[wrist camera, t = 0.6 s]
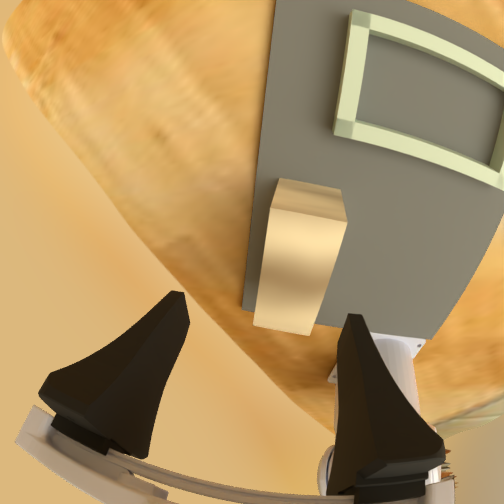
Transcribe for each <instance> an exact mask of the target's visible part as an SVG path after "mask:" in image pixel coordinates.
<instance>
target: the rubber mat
mask: <svg viewBox="0 0 504 504" xmlns="http://www.w3.org/2000/svg"><path fill="white" fill-rule="evenodd" d="M352 9H355V10H359V11H363V12H367V13H371V14H374V15H378V16H381V17H385V18H388V19H391V20H394V21H397V22H400V23H403V24H406V25H409V26H411V27H414V28H417V29H419V30H422V31H424V32H427V33H429V34H432V35H434V36H437V37H439V38H441V39H443V40H446V41H448V42H450V43H452V44H454V45H456V46H458V47H460V48H462V49H464V50H466V51H468V52H470V53H472V54H474V55H476V56H477V57H479V58H481V59H483V60H485V61H486V62H488V63H490V64H491V65H493V66H495V67H496V68H498V69H500V70H501V71H503V72H504V49H503V48H502V47H500V46H498V45H497V44H495V43H494V42H492V41H490V40H489V39H487V38H485V37H484V36H482V35H480V34H479V33H477V32H475V31H473V30H471V29H469V28H468V27H466V26H464V25H462V24H460V23H458V22H456V21H454V20H452V19H450V18H448V17H445V16H443V15H441V14H439V13H436V12H434V11H432V10H429V9H427V8H425V7H422V6H420V5H417V4H414V3H412V2H409V1H406V0H276V8H275V16H274V25H273V33H272V42H271V50H270V59H269V68H268V76H267V85H266V94H265V103H264V111H263V120H262V129H261V138H260V147H259V156H258V165H257V174H256V183H255V192H254V201H253V210H252V219H251V228H250V238H249V247H248V256H247V265H246V275H245V284H244V293H243V303H242V310H245V311H250V312H255V308H256V301H257V295H258V288H259V281H260V275H261V268H262V261H263V254H264V248H265V241H266V234H267V227H268V220H269V213H270V207H271V204H272V200H273V197H274V194H275V191H276V188H277V184H278V181H279V178H284V179H290V180H295V181H301V182H306V183H311V184H316V185H321V186H326V187H331V188H336V189H340V190H341V193H342V198H343V203H344V207H345V212H346V217H347V222H348V223H347V226H346V230H345V233H344V236H343V240H342V243H341V246H340V249H339V253H338V256H337V259H336V262H335V265H334V268H333V271H332V274H331V277H330V280H329V283H328V286H327V289H326V292H325V295H324V298H323V300H322V303H321V306H320V309H319V312H318V314H317V317H316V320H315V322H314V324H320V325H326V326H332V327H339V328H343V327H344V324H345V321H346V318H347V315H348V313H352V314H362V316H363V317H364V320H365V322H366V325H367V327H368V329H369V332H373V333H380V334H388V335H395V336H404V337H412V338H421V339H432V338H433V337H434V335H435V334H436V333H437V331H438V330H439V328H440V327H441V326H442V324H443V323H444V321H445V320H446V318H447V317H448V315H449V314H450V312H451V311H452V309H453V308H454V306H455V305H456V303H457V302H458V300H459V298H460V297H461V295H462V294H463V292H464V290H465V289H466V287H467V285H468V284H469V282H470V280H471V278H472V277H473V275H474V273H475V271H476V270H477V268H478V266H479V264H480V262H481V260H482V258H483V256H484V255H485V253H486V251H487V249H488V247H489V245H490V243H491V240H492V238H493V236H494V234H495V232H496V230H497V228H498V225H499V223H500V221H501V219H502V216H503V214H504V191H503V190H501V189H498V188H496V187H494V186H492V185H489V184H487V183H485V182H483V181H480V180H478V179H475V178H473V177H470V176H468V175H465V174H463V173H460V172H458V171H455V170H453V169H450V168H447V167H444V166H442V165H439V164H436V163H433V162H430V161H427V160H424V159H421V158H418V157H415V156H412V155H409V154H405V153H402V152H399V151H395V150H392V149H388V148H385V147H381V146H377V145H374V144H370V143H366V142H362V141H358V140H354V139H349V138H345V137H341V136H336V135H334V134H333V132H332V128H333V122H334V116H335V111H336V105H337V99H338V93H339V87H340V80H341V74H342V67H343V60H344V53H345V46H346V38H347V30H348V21H349V14H350V12H351V11H352ZM503 110H504V92H503V91H502V90H500V89H498V88H497V87H495V86H493V85H491V84H490V83H488V82H486V81H484V80H483V79H481V78H479V77H477V76H475V75H473V74H471V73H469V72H467V71H465V70H463V69H461V68H459V67H457V66H455V65H453V64H451V63H449V62H446V61H444V60H442V59H440V58H437V57H435V56H433V55H430V54H428V53H425V52H423V51H420V50H417V49H415V48H412V47H409V46H406V45H403V44H401V43H398V42H395V41H391V40H388V39H385V38H382V37H378V36H375V35H371V34H369V37H368V44H367V52H366V59H365V66H364V72H363V78H362V84H361V90H360V96H359V102H358V107H357V113H356V118H355V119H356V120H360V121H364V122H368V123H371V124H375V125H379V126H382V127H386V128H389V129H393V130H396V131H399V132H403V133H406V134H409V135H412V136H415V137H418V138H421V139H424V140H427V141H430V142H432V143H435V144H438V145H441V146H443V147H446V148H448V149H451V150H453V151H456V152H458V153H461V154H463V155H466V156H468V157H470V158H473V159H475V160H477V161H479V162H482V163H484V164H486V165H488V166H489V164H490V161H491V158H492V154H493V151H494V147H495V144H496V140H497V136H498V132H499V128H500V124H501V119H502V115H503Z"/></svg>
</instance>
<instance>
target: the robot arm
mask: <svg viewBox="0 0 504 504" xmlns="http://www.w3.org/2000/svg"><path fill="white" fill-rule="evenodd" d="M189 325H190V319H189V315H188V310H187V305H186V300H185V295H184V292H178V291H170V292H169V293H168V294H167V295H166V296H165V297H164V298H163V299H162V300H161V301H160V302H159V303H158V304H156V305H155V306H154V307H153V308H152V309H151V310H150V311H149V312H148V313H147V314H146V315H144V317H142V318H141V319H140V320H139V321H138V322H137V323H135V324H134V325H133V326H132V327H131V328H129V329H128V330H127V331H126V332H125V333H123V334H122V335H121V336H119V337H118V338H117V339H116V340H114V341H112V342H111V343H110V344H108V345H107V346H105V347H103V348H102V349H100V350H99V351H97V352H95V353H93V354H92V355H90V356H88V357H86V358H84V359H82V360H80V361H79V362H76V363H74V364H72V365H69V366H67V367H65V368H62V369H60V370H57V371H54V372H51V373H50V374H49V375H48V377H47V379H46V380H45V382H44V383H43V385H42V387H41V389H40V390H39V392H38V394H39V397H40V398H41V399H42V400H43V401H44V402H45V403H46V404H47V405H48V406H49V407H50V408H51V409H52V410H53V411H55V412H56V415H55V417H53V416H51V415H50V414H48V413H47V412H45V411H44V410H42V409H41V408H39V407H37V406H36V405H33V407H32V409H31V411H30V413H29V415H28V416H27V418H26V420H25V422H24V424H23V426H22V428H21V430H20V432H19V434H18V436H17V438H16V441H15V443H16V444H17V445H19V446H20V447H21V448H22V449H23V450H25V451H26V452H27V453H29V454H30V455H31V456H33V457H34V458H35V459H37V460H38V461H39V462H40V463H42V464H43V465H44V466H46V467H47V468H48V469H50V470H51V471H53V472H54V473H56V474H57V475H58V476H60V477H61V478H63V479H64V480H66V481H67V482H69V483H70V484H72V485H73V486H75V487H76V488H78V489H80V490H81V491H83V492H85V493H86V494H88V495H90V496H91V497H93V498H95V499H97V500H98V501H100V502H102V503H104V504H177V503H174V502H171V501H167V496H168V491H166V490H163V489H161V488H159V487H157V486H155V485H154V484H151V483H148V482H146V481H143V480H141V479H139V478H136V477H135V476H134V474H133V473H135V474H137V475H140V476H143V477H145V478H148V479H151V480H153V481H157V482H159V483H162V484H165V485H168V486H171V487H175V488H178V489H182V490H185V491H188V492H192V493H196V494H200V495H204V496H208V497H212V498H217V499H222V500H226V501H232V502H237V503H243V504H454V480H453V479H450V480H445V481H441V482H440V480H441V464H443V463H444V461H445V460H446V455H445V447H444V442H443V439H442V438H441V437H440V436H439V435H438V434H437V431H436V428H435V427H434V426H432V425H430V423H426V422H425V421H424V420H423V419H422V418H421V415H420V406H419V399H418V391H417V385H416V378H415V372H414V366H413V361H412V359H413V358H414V357H415V356H416V354H417V353H418V352H419V350H420V349H421V348H422V346H423V345H424V344H425V342H426V339H421V338H412V337H404V336H395V335H388V334H380V333H373V332H369V329H368V327H367V325H366V322H365V320H364V317H363V316H362V314H352V313H348V315H347V318H346V321H345V324H344V327H343V330H342V332H341V335H340V338H339V341H338V349H337V363H336V365H335V367H334V368H333V370H332V372H331V373H330V375H329V377H328V382H329V383H336V384H335V411H334V430H335V433H336V439H335V445H332V446H330V447H329V448H328V449H327V450H326V451H325V453H324V455H323V456H322V458H321V460H320V463H319V467H318V472H317V484H318V489H319V493H320V495H321V496H314V495H295V494H282V493H273V492H265V491H257V490H251V489H244V488H238V487H233V486H227V485H222V484H218V483H214V482H209V481H205V480H201V479H197V478H193V477H189V476H185V475H182V474H179V473H175V472H172V471H169V470H166V469H163V468H160V467H157V466H154V465H151V464H148V463H145V462H142V461H140V460H137V459H135V458H132V457H129V456H133V457H136V458H138V459H145V458H146V457H148V452H149V447H150V441H151V436H152V431H153V427H154V423H155V419H156V415H157V411H158V407H159V404H160V400H161V397H162V394H163V390H164V387H165V385H166V382H167V380H168V377H169V375H170V373H171V370H172V368H173V366H174V364H175V362H176V360H177V357H178V355H179V353H180V351H181V348H182V346H183V344H184V341H185V338H186V335H187V332H188V328H189ZM124 454H127V455H129V456H127V455H124Z"/></svg>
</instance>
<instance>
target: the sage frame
mask: <svg viewBox="0 0 504 504" xmlns="http://www.w3.org/2000/svg"><path fill="white" fill-rule="evenodd" d="M369 34H371V35H375V36H378V37H382V38H385V39H388V40H391V41H395V42H398V43H401V44H403V45H406V46H409V47H412V48H415V49H417V50H420V51H423V52H425V53H428V54H430V55H433V56H435V57H437V58H440V59H442V60H444V61H446V62H449V63H451V64H453V65H455V66H457V67H459V68H461V69H463V70H465V71H467V72H469V73H471V74H473V75H475V76H477V77H479V78H481V79H483V80H484V81H486V82H488V83H490V84H491V85H493V86H495V87H497V88H498V89H500V90H502V91H503V92H504V72H503V71H501V70H500V69H498V68H496V67H495V66H493V65H491V64H490V63H488V62H486V61H485V60H483V59H481V58H479V57H477V56H476V55H474V54H472V53H470V52H468V51H466V50H464V49H462V48H460V47H458V46H456V45H454V44H452V43H450V42H448V41H446V40H443V39H441V38H439V37H437V36H434V35H432V34H429V33H427V32H424V31H422V30H419V29H417V28H414V27H411V26H409V25H406V24H403V23H400V22H397V21H394V20H391V19H388V18H385V17H381V16H378V15H374V14H371V13H367V12H363V11H359V10H355V9H352V11H351V12H350V14H349V21H348V30H347V38H346V46H345V53H344V60H343V67H342V74H341V80H340V87H339V93H338V99H337V105H336V111H335V116H334V122H333V128H332V132H333V134H334V135H336V136H341V137H345V138H349V139H354V140H358V141H362V142H366V143H370V144H374V145H377V146H381V147H385V148H388V149H392V150H395V151H399V152H402V153H405V154H409V155H412V156H415V157H418V158H421V159H424V160H427V161H430V162H433V163H436V164H439V165H442V166H444V167H447V168H450V169H453V170H455V171H458V172H460V173H463V174H465V175H468V176H470V177H473V178H475V179H478V180H480V181H483V182H485V183H487V184H489V185H492V186H494V187H496V188H498V189H501V190H503V191H504V110H503V115H502V119H501V124H500V128H499V132H498V136H497V140H496V144H495V147H494V151H493V154H492V158H491V161H490V164H489V166H488V165H486V164H484V163H482V162H479V161H477V160H475V159H473V158H470V157H468V156H466V155H463V154H461V153H458V152H456V151H453V150H451V149H448V148H446V147H443V146H441V145H438V144H435V143H432V142H430V141H427V140H424V139H421V138H418V137H415V136H412V135H409V134H406V133H403V132H399V131H396V130H393V129H389V128H386V127H382V126H379V125H375V124H371V123H368V122H364V121H360V120H356V119H355V118H356V113H357V107H358V102H359V96H360V90H361V84H362V78H363V72H364V66H365V59H366V52H367V44H368V37H369Z"/></svg>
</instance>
